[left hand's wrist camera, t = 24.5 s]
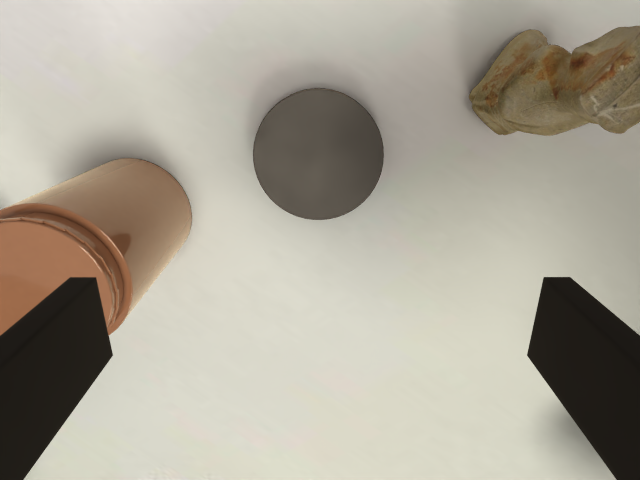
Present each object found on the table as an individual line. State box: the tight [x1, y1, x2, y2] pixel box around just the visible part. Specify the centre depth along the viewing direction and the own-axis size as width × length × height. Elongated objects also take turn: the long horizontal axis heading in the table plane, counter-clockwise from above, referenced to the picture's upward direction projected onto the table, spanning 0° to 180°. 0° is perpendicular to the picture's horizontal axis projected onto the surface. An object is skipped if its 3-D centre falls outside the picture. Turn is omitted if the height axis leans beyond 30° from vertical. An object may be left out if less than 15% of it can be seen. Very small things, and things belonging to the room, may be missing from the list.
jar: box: [0, 158, 192, 336], centre depth 32 cm, size 10×10×15 cm
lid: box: [253, 88, 384, 220], centre depth 36 cm, size 11×11×2 cm
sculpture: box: [469, 26, 640, 136], centre depth 28 cm, size 6×7×15 cm
